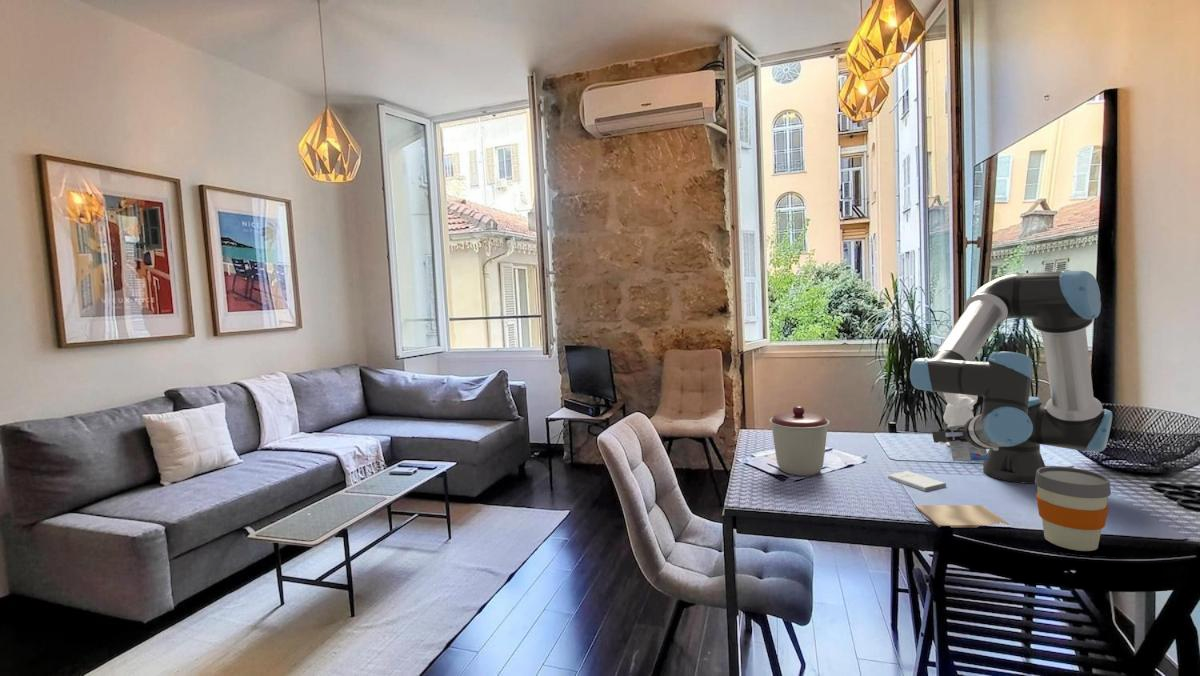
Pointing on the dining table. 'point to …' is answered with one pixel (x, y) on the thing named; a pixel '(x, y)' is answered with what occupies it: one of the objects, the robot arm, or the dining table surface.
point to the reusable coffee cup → (1072, 506)
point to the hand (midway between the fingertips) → (960, 437)
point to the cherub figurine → (958, 409)
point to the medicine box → (966, 450)
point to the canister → (799, 441)
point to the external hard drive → (916, 480)
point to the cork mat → (960, 515)
